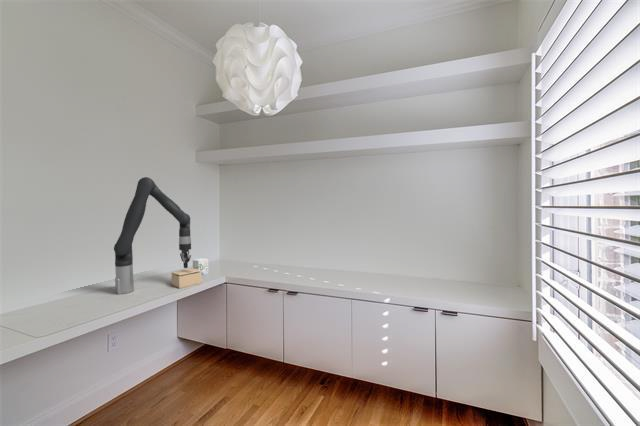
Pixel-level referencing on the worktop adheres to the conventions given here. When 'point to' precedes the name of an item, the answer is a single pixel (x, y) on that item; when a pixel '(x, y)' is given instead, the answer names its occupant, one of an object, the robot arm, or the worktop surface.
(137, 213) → the robot arm
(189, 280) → the carton
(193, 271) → the lid
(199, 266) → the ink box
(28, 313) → the worktop surface
